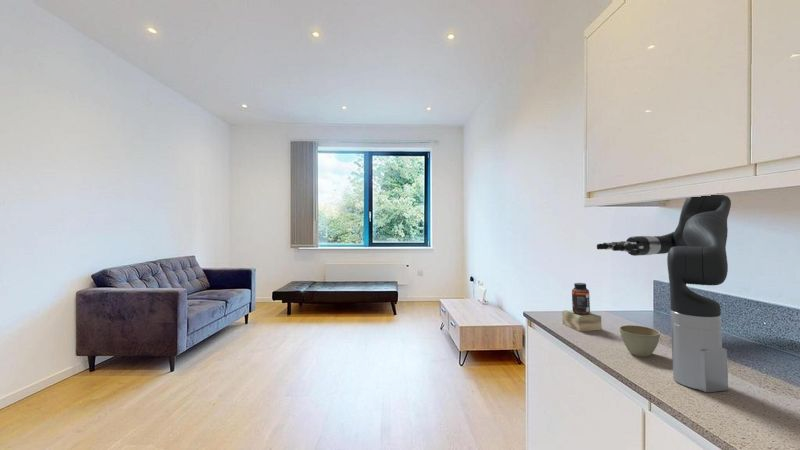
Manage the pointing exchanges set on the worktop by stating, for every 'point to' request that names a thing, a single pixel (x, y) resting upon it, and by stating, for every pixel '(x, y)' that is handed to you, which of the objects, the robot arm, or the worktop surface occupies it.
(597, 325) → the step
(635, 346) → the beige round bowl
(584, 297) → the supplement bottle
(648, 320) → the worktop surface
